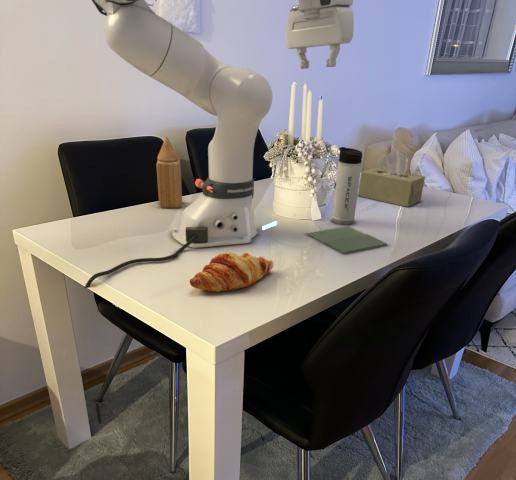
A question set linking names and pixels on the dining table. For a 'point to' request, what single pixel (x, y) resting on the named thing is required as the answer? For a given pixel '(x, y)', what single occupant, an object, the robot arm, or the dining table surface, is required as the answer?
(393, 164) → the tissue box
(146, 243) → the dining table surface
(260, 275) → the croissant
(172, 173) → the decorative item
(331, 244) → the napkin
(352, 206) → the travel mug
